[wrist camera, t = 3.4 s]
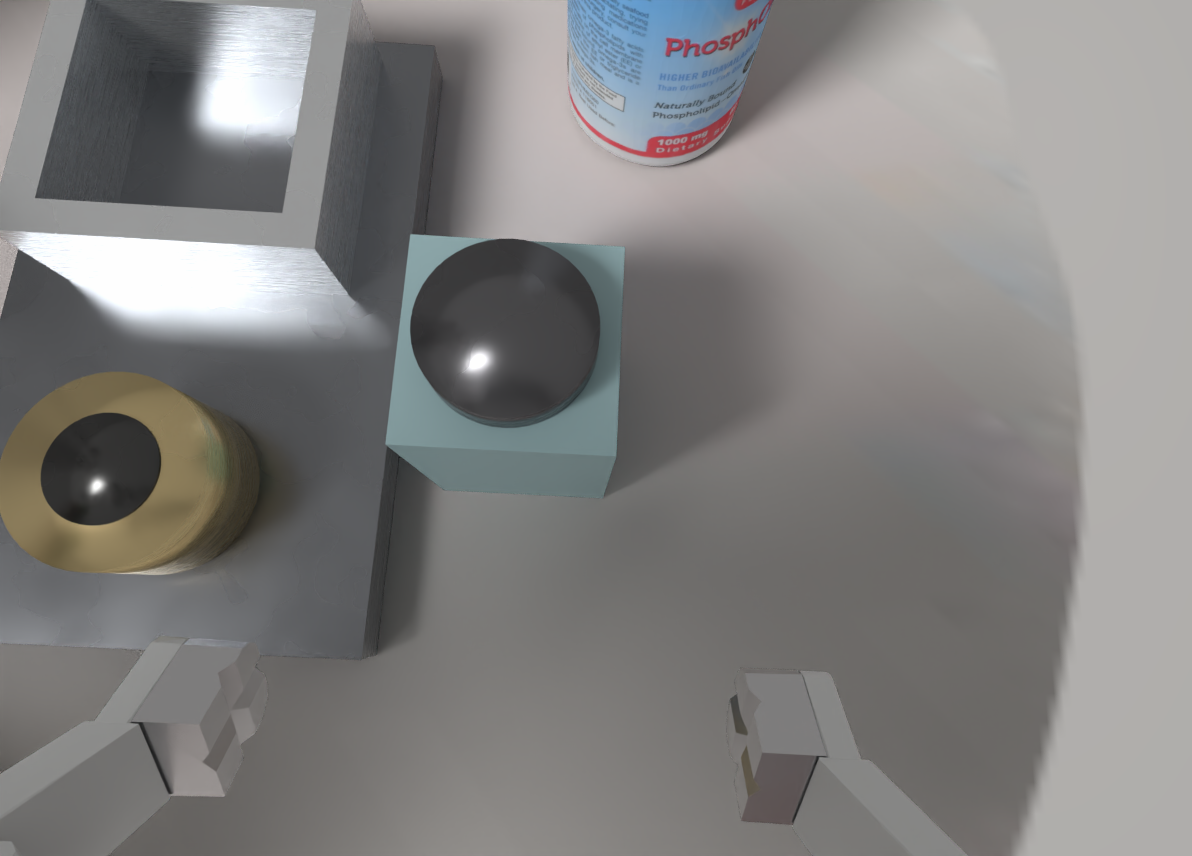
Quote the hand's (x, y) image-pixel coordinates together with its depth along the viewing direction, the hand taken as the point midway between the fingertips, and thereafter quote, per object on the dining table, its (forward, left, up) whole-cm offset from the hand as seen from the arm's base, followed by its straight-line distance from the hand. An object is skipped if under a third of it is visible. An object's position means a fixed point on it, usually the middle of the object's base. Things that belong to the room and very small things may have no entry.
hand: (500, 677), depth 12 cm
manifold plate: (-10, +9, -9) cm, 17 cm away
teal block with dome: (0, +7, -9) cm, 12 cm away
